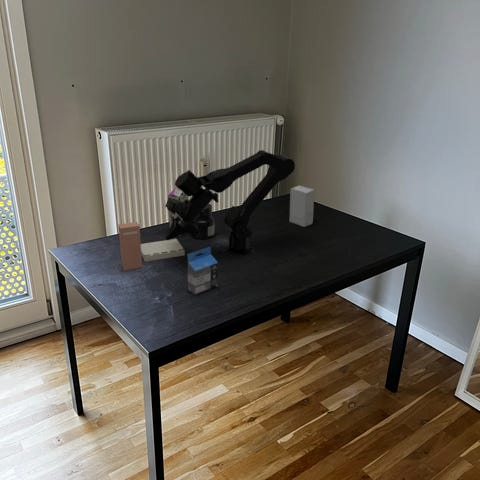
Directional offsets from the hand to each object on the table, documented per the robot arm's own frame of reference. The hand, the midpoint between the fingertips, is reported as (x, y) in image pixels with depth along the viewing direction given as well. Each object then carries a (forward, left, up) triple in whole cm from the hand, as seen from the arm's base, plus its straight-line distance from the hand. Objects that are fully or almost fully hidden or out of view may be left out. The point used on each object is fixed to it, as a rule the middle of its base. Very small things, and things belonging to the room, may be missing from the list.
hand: (166, 239), depth 159 cm
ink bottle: (+1, -25, -8) cm, 26 cm away
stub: (+8, +9, -8) cm, 15 cm away
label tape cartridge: (-20, +9, -8) cm, 23 cm away
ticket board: (+6, -4, -8) cm, 11 cm away
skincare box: (-27, -56, -8) cm, 62 cm away
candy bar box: (+11, -24, -8) cm, 28 cm away
